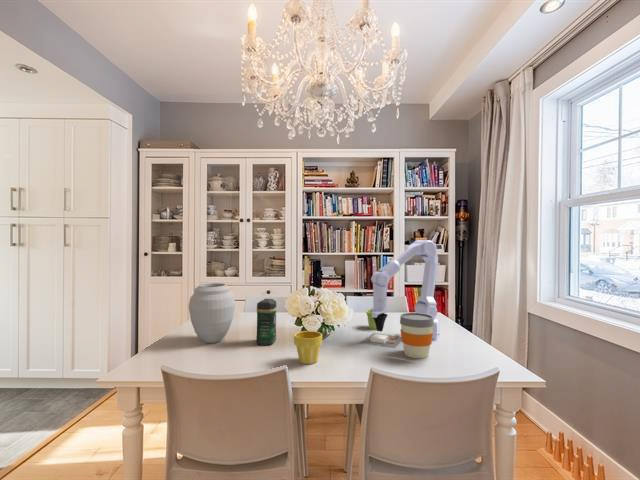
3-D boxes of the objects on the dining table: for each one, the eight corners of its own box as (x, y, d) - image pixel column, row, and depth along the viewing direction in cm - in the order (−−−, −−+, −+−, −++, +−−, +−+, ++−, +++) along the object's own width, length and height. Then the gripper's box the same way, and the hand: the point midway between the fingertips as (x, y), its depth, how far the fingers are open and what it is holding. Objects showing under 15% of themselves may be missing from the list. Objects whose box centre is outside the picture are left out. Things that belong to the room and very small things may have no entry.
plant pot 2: (386, 331, 165) (386, 313, 165) (366, 331, 165) (366, 313, 165) (383, 326, 174) (383, 309, 174) (364, 326, 175) (364, 309, 175)
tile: (388, 335, 150) (384, 339, 145) (388, 340, 150) (384, 343, 145) (375, 333, 153) (370, 337, 148) (375, 338, 153) (370, 341, 148)
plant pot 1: (290, 358, 128) (290, 332, 128) (315, 354, 133) (315, 329, 133) (299, 368, 119) (300, 339, 119) (326, 363, 123) (327, 336, 123)
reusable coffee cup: (428, 363, 124) (429, 321, 123) (395, 356, 130) (395, 317, 130) (436, 353, 134) (437, 315, 134) (405, 347, 141) (405, 311, 141)
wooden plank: (394, 336, 155) (394, 333, 155) (400, 337, 154) (400, 334, 154) (386, 343, 146) (386, 340, 146) (393, 344, 144) (393, 341, 144)
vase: (178, 343, 146) (178, 286, 146) (212, 332, 163) (212, 281, 163) (212, 350, 137) (212, 289, 136) (244, 338, 154) (244, 283, 154)
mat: (405, 338, 154) (405, 337, 154) (394, 349, 139) (394, 348, 139) (374, 333, 161) (374, 332, 161) (359, 343, 146) (359, 342, 146)
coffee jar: (273, 346, 142) (273, 301, 142) (254, 345, 143) (254, 301, 143) (278, 339, 152) (278, 297, 152) (260, 338, 153) (260, 297, 153)
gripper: (376, 296, 157) (376, 325, 157) (364, 301, 145) (364, 333, 145) (391, 297, 154) (391, 327, 154) (381, 303, 141) (380, 335, 141)
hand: (379, 330), depth 149 cm, fingers closed
